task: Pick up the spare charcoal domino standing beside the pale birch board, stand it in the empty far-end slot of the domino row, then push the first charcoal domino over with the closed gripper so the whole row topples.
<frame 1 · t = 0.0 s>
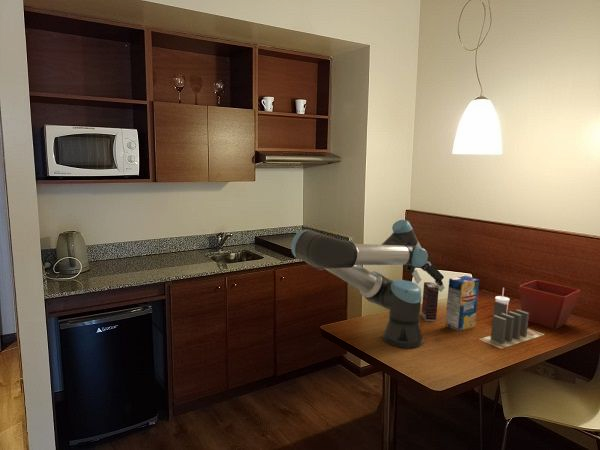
hand: (430, 285, 199), 15 cm above the table, tool tilted 35°, fingers open, 13 cm apart
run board: (512, 339, 180), on the table
beverage box: (459, 328, 191), on the table
domino 1: (497, 341, 175), point 1 cm above the table, touching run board
domino 4: (519, 334, 183), point 1 cm above the table, touching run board
supplement box: (428, 318, 202), on the table
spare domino: (498, 324, 197), on the table
beverage cup: (500, 316, 207), on the table
plant pot: (545, 323, 200), on the table
domino 3: (512, 336, 180), point 1 cm above the table, touching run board
domino 2: (505, 339, 178), point 1 cm above the table, touching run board
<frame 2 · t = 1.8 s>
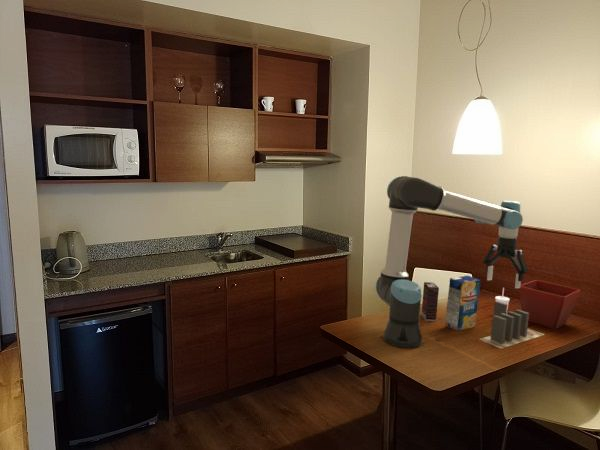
hand: (503, 284, 194), 19 cm above the table, tool pointing down, fingers open, 13 cm apart
nothing on the table moved.
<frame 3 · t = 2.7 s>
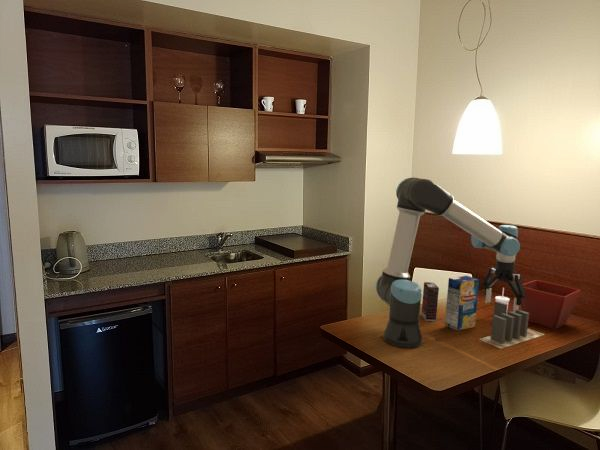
hand: (501, 307, 195), 8 cm above the table, tool pointing down, fingers open, 13 cm apart
nothing on the table moved.
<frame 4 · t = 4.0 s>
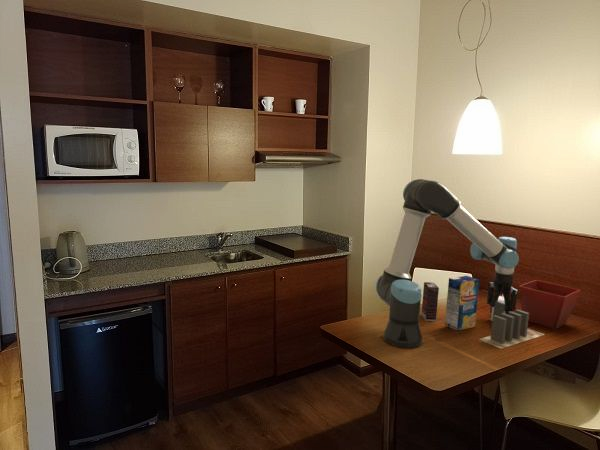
hand: (499, 322, 196), 1 cm above the table, tool pointing down, fingers closed on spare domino, 5 cm apart
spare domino: (498, 324, 197), on the table, touching gripper
everything else where it was.
when the fingers open (3 cm above the table, at t = 9.9 s): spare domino stays where it is, resting on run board.
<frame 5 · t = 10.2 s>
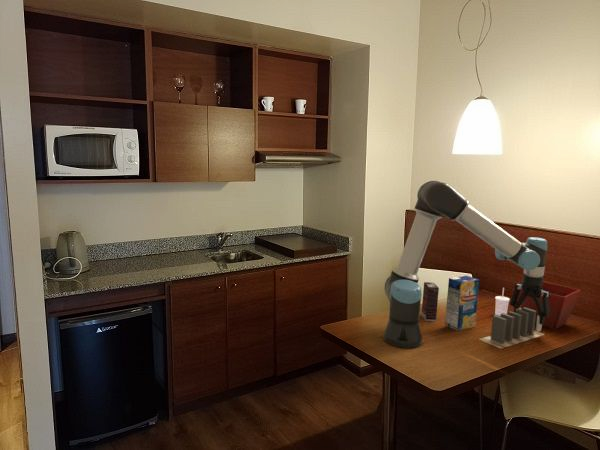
hand: (527, 326, 185), 3 cm above the table, tool pointing down, fingers open, 9 cm apart
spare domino: (526, 332, 185), point 1 cm above the table, touching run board
everything else where it was.
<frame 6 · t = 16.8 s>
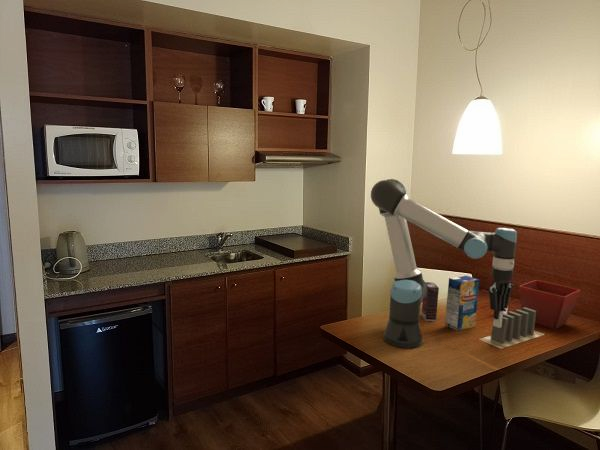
hand: (497, 326, 173), 8 cm above the table, tool pointing down, fingers closed
domino 1: (497, 341, 175), point 1 cm above the table, tilted 6°, touching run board
everything else where it was.
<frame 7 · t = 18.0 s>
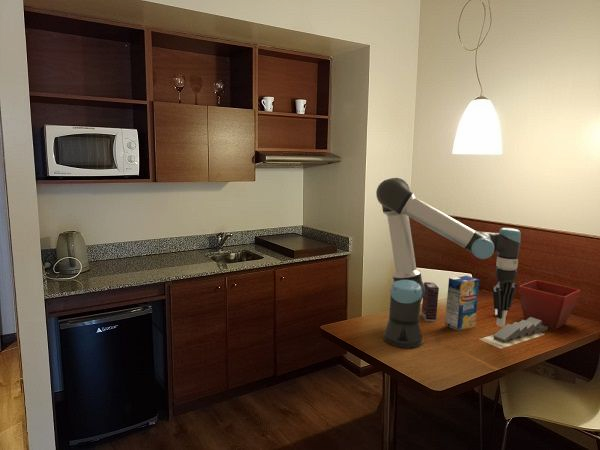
hand: (500, 325, 175), 7 cm above the table, tool pointing down, fingers closed
domino 1: (499, 339, 176), point 2 cm above the table, tilted 71°, touching domino 2, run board
domino 4: (522, 331, 184), point 2 cm above the table, tilted 69°, touching domino 3, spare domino
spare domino: (528, 329, 186), point 2 cm above the table, tilted 92°, touching domino 4, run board
domino 3: (514, 334, 181), point 2 cm above the table, tilted 71°, touching domino 2, domino 4, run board
domino 2: (506, 336, 178), point 2 cm above the table, tilted 71°, touching domino 1, domino 3, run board
everything else where it was.
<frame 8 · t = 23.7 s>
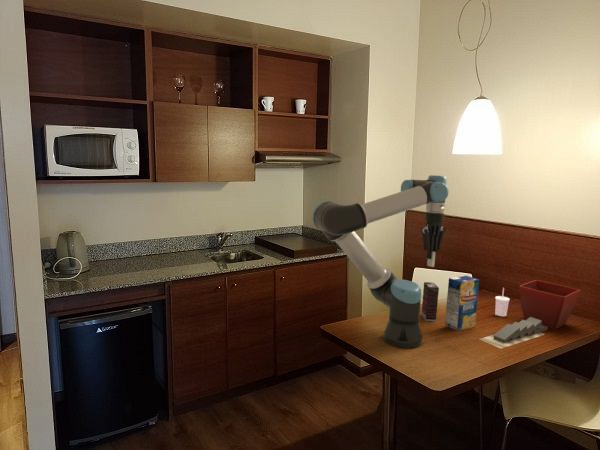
hand: (430, 266, 190), 26 cm above the table, tool pointing down, fingers closed
nothing on the table moved.
at the end: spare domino moved 13.2 cm from its start; domino 1 tilted 71°; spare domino tilted 92° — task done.
